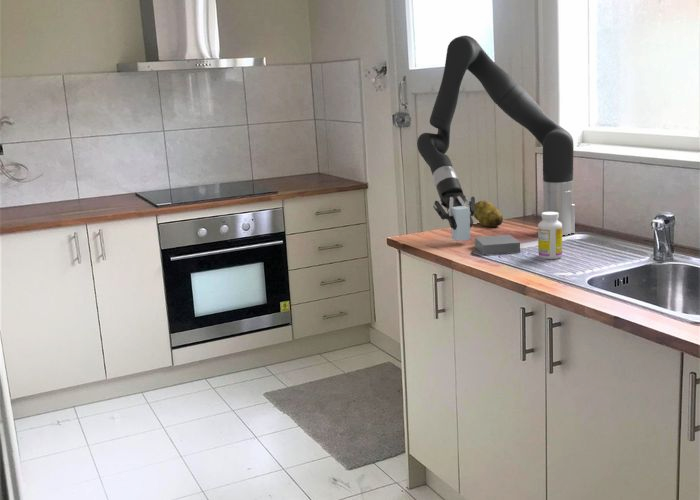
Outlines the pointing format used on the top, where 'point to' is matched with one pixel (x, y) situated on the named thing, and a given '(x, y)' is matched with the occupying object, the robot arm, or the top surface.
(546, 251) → the supplement bottle
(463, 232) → the block
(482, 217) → the potato
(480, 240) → the block
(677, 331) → the top surface
